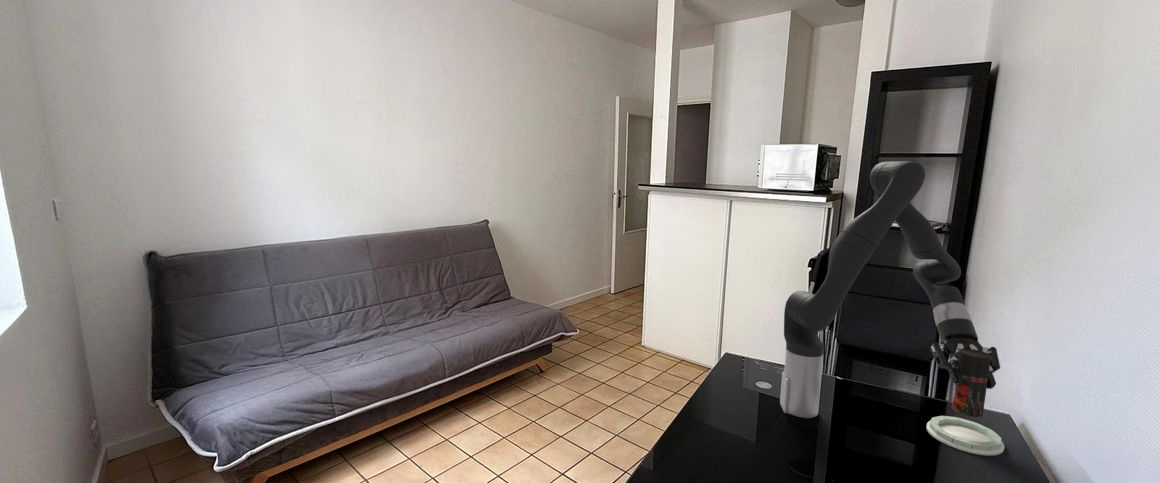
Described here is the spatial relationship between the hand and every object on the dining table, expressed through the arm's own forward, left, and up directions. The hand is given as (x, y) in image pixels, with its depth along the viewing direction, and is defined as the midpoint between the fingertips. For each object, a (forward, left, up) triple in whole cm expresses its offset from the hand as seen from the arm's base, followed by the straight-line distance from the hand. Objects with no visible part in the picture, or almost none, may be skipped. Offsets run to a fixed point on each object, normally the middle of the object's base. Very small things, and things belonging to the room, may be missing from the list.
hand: (975, 386), depth 112 cm
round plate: (0, +2, -14) cm, 14 cm away
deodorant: (0, +2, -7) cm, 8 cm away
